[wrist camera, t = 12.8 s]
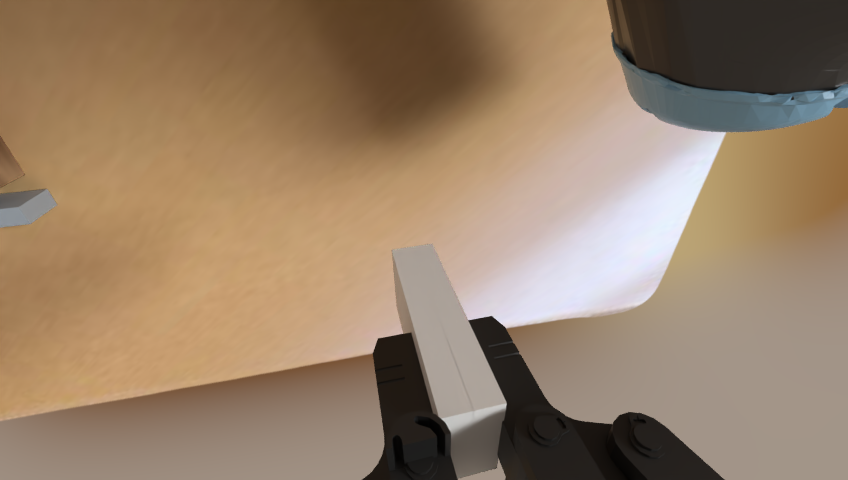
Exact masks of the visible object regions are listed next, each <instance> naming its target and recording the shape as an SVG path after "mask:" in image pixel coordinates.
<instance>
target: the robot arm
mask: <svg viewBox="0 0 848 480" xmlns="http://www.w3.org/2000/svg"><path fill="white" fill-rule="evenodd" d="M607 5H608V9H609V14H610V19H611V24H612V29H613V32H612V33H611V39H612V45H613V49H614V52H615V54H616V56H617V58H618V59H619V60H620V62H621V65H622V69H623V72H624V75H625V79H626V83H627V87H628V89H629V92H630V94H631V96H632V98H633V99H634V101H635V102H636V103H637V104H638V105H639V106H640V107H641V108H642V109H643V110H645V111H647V112H649V113H652V114H654V115H655V117H657V118H658V119H659V120H661V121H664V122H666V123H669V124H672V125H676V126H679V127H683V128H688V129H694V130H701V131H711V132H750V131H762V130H771V129H777V128H784V127H789V126H794V125H798V124H802V123H806V122H810V121H814V120H817V119H820V118H823V117H826V116H827V115H829V113H830V112H831V111H832V109H833V107H835V108H848V0H607ZM392 258H393V270H394V281H395V292H396V303H397V310H398V314H399V318H400V322H401V326H402V330H403V334H400V335H395V336H389V337H384V338H379V339H378V340H377V343H376V346H375V349H374V352H373V358H374V366H375V373H376V379H377V387H378V394H379V400H380V408H381V416H382V423H383V430H384V440H385V441H384V442H385V445H384V450H383V454H382V457H381V459H380V461H379V463H378V465H377V466H376V467H375V468H374V470H373V471H372V472H371V473H370V474H369V475H368V476H366V477H365V478H364V479H363V480H458V478H462V477H466V476H470V475H473V474H477V473H480V472H485V471H488V470H492V469H496V468H497V463H498V458H499V460H500V463H501V465H502V468H503V470H504V473H505V476H506V479H505V480H724V479H723V478H722V477H721V476H720V475H719V474H718V473H716V472H715V471H714V470H713V469H712V468H711V467H710V466H709V465H708V464H706V463H705V462H704V461H703V460H702V459H701V458H700V457H699V456H697V455H696V454H695V453H694V452H693V451H692V450H691V449H689V448H688V447H687V446H686V445H685V444H684V443H683V442H682V441H681V440H680V439H679V438H677V437H676V436H675V435H674V434H673V433H672V432H671V431H670V430H669V429H668V428H666V427H665V426H664V425H662V424H661V423H660V422H658V421H657V420H655V419H654V418H651V417H649V416H647V415H644V414H642V413H633V412H628V413H625V414H622V415H619V416H618V417H617V419H616V420H615V421H614V422H613V424H604V423H593V422H583V421H578V420H574V419H571V418H569V417H567V416H565V415H564V414H563V413H561V412H560V411H558V410H557V409H555V408H553V406H551V405H550V403H549V402H548V401H547V399H546V398H545V397H544V395H543V393H542V391H541V389H540V388H539V386H538V384H537V383H536V381H535V379H534V377H533V375H532V374H531V372H530V370H529V369H528V367H527V365H526V363H525V362H524V360H523V358H522V356H521V355H520V354H519V351H518V349H517V347H516V346H515V344H514V343H513V341H512V339H511V337H510V335H509V334H508V332H507V330H506V328H505V327H504V326H503V325H502V324H501V323H499V322H498V321H497V320H496V319H494V318H493V317H492V316H489V317H484V318H479V319H474V320H468V319H467V317H466V315H465V313H464V310H463V308H462V306H461V304H460V302H459V300H458V297H457V295H456V293H455V291H454V289H453V287H452V285H451V282H450V280H449V278H448V276H447V274H446V272H445V270H444V267H443V265H442V263H441V261H440V259H439V257H438V255H437V252H436V250H435V248H434V246H433V244H427V245H420V246H414V247H407V248H400V249H393V250H392Z"/></svg>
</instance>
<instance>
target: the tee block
mask: <svg viewBox="0 0 848 480" xmlns="http://www.w3.org/2000/svg"><path fill="white" fill-rule="evenodd" d="M23 175H25V173H24V172H23V170H22V169H21V167H20V166H19V164H18V162H17V161H16V159H15V158H14V156H13V155H12V153H11V152H10V150H9V149H8V147H7V145H6V144H5V142H4V141H3V139H2V138H1V136H0V187H2V186H4V185H6V184H8V183H10V182H12V181H14V180H15V179H17V178H19V177H21V176H23Z"/></svg>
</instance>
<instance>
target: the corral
mask: <svg viewBox="0 0 848 480" xmlns="http://www.w3.org/2000/svg"><path fill="white" fill-rule="evenodd" d="M56 205H57V204H56V202H55V201H54V199H53V197H52V196H51V194H50V193H49V191H48V189H42V190H32V191H23V192H13V193H3V194H0V227H9V226H17V225H26V224H31V223H32V222H34V221H35V220H37V219H38V218H39V217H41V216H42V215H44V214H45V213H46V212H48V211H49V210H51V209H52V208H53V207H55V206H56Z"/></svg>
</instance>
